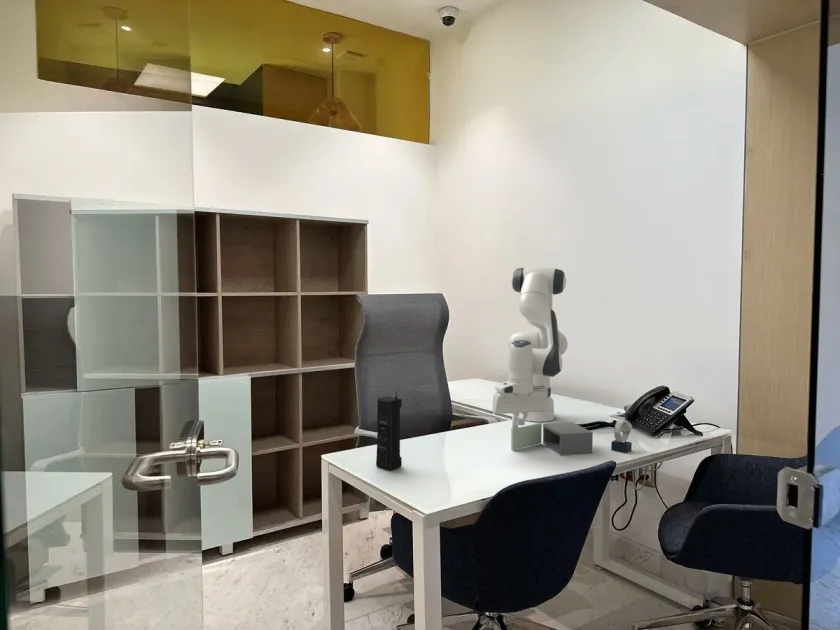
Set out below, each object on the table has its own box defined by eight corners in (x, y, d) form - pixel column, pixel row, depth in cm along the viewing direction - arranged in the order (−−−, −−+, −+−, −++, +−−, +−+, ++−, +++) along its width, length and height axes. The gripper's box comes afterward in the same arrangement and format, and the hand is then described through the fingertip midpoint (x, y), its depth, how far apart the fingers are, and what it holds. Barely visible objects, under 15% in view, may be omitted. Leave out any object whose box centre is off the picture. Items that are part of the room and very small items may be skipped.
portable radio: (372, 465, 179) (372, 390, 178) (386, 461, 183) (386, 388, 182) (388, 471, 173) (388, 393, 172) (402, 467, 178) (402, 391, 176)
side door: (538, 442, 205) (538, 410, 204) (542, 443, 203) (542, 411, 202) (509, 449, 196) (510, 415, 195) (513, 450, 194) (514, 417, 194)
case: (542, 443, 204) (542, 423, 204) (572, 441, 207) (572, 422, 206) (560, 455, 190) (561, 434, 189) (592, 453, 192) (592, 432, 192)
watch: (633, 449, 196) (634, 419, 196) (624, 454, 191) (624, 423, 190) (618, 446, 200) (619, 417, 200) (608, 451, 195) (609, 420, 194)
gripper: (543, 383, 199) (543, 421, 199) (490, 385, 194) (490, 424, 195) (551, 386, 193) (551, 425, 193) (497, 389, 188) (496, 428, 189)
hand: (520, 424), depth 194 cm, fingers closed
